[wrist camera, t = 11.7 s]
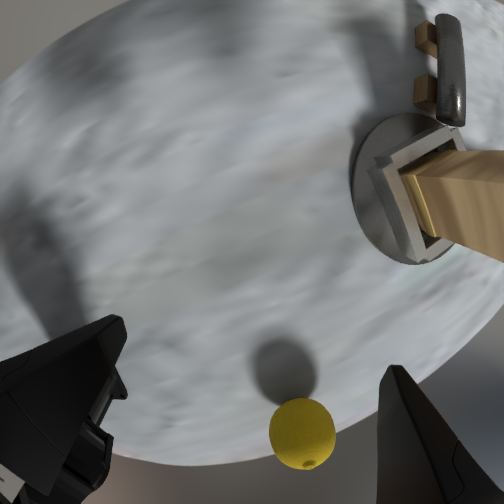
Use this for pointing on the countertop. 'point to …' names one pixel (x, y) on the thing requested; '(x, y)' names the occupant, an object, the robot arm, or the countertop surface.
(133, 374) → the countertop surface
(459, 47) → the shaft
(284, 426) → the lemon
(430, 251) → the grey round socket base
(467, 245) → the block
